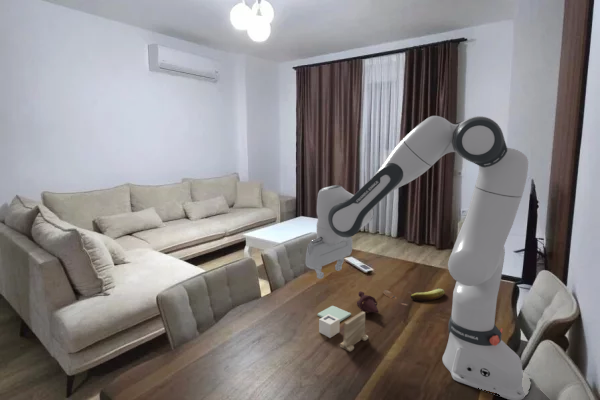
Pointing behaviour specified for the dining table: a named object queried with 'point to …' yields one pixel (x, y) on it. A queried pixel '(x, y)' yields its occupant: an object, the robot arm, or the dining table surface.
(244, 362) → the dining table surface
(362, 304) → the maroon gnome figurine
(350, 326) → the oak screen
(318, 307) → the dining table surface
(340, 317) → the green tile
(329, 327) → the letter cube
